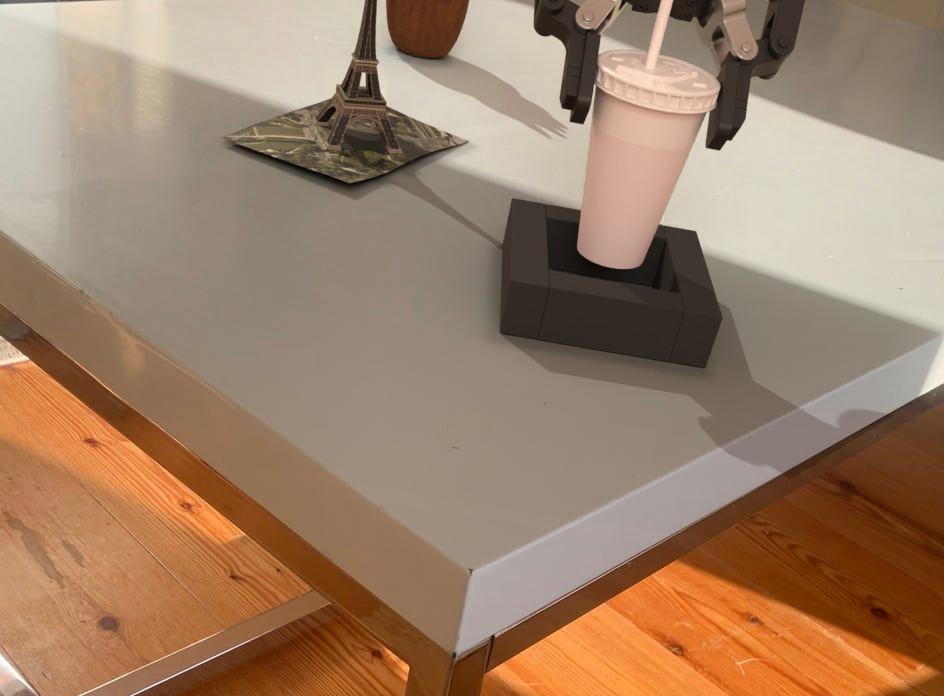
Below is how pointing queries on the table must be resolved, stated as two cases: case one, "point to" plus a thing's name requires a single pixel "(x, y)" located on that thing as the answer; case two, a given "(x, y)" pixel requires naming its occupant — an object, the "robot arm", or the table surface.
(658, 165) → the smoothie
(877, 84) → the table surface
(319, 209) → the table surface
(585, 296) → the dark square frame
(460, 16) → the wooden figurine
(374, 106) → the eiffel tower figurine
